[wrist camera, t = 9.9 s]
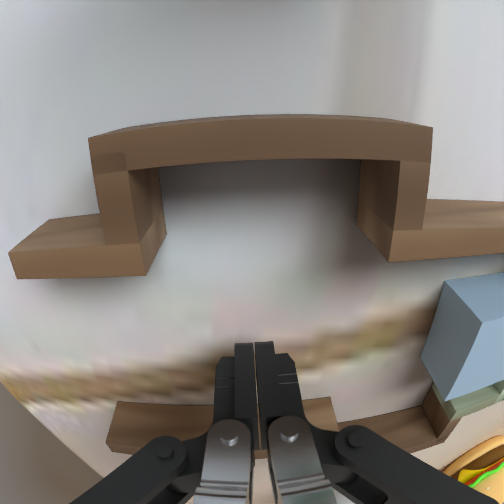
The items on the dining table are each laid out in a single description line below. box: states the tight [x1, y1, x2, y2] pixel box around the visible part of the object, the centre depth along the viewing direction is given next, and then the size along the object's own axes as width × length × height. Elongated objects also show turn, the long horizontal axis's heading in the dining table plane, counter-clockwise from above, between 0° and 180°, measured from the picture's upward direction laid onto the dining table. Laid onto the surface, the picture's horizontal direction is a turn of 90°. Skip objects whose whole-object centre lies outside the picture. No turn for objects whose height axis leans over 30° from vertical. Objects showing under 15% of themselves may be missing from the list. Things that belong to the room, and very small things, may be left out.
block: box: [420, 272, 504, 401], centre depth 13 cm, size 5×5×4 cm
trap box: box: [8, 114, 504, 459], centre depth 12 cm, size 18×24×3 cm
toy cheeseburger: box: [443, 436, 504, 504], centre depth 22 cm, size 12×12×9 cm
